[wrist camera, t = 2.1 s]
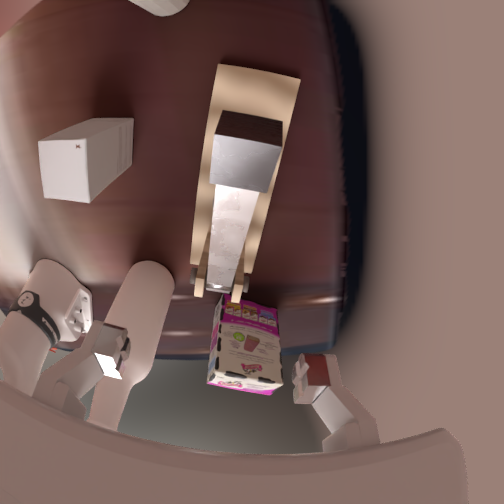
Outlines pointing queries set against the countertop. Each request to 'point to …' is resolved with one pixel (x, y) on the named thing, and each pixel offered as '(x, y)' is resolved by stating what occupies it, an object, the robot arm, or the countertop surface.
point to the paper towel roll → (162, 6)
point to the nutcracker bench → (223, 98)
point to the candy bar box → (245, 347)
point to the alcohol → (134, 336)
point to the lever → (238, 187)
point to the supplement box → (85, 158)
